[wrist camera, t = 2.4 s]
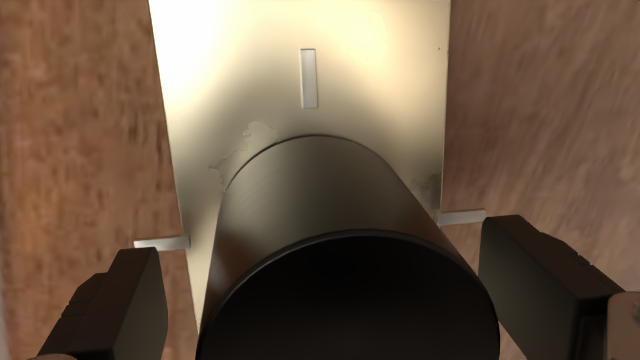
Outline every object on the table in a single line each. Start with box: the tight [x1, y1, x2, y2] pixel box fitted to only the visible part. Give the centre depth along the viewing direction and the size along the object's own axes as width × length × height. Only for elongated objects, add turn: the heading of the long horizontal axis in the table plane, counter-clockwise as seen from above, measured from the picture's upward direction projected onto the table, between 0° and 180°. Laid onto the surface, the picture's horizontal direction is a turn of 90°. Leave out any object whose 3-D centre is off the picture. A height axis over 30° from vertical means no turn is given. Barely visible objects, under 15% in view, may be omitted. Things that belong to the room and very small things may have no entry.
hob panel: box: [133, 0, 486, 337], centre depth 15 cm, size 14×9×3 cm
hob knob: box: [195, 136, 500, 360], centre depth 11 cm, size 5×5×6 cm
